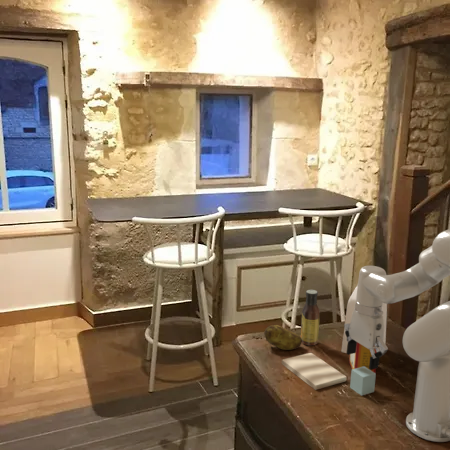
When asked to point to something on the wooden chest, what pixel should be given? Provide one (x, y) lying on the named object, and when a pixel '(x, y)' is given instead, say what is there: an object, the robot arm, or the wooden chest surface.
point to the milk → (349, 313)
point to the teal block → (362, 380)
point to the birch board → (313, 371)
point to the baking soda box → (361, 357)
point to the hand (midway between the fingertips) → (361, 360)
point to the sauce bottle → (310, 319)
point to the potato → (282, 337)
